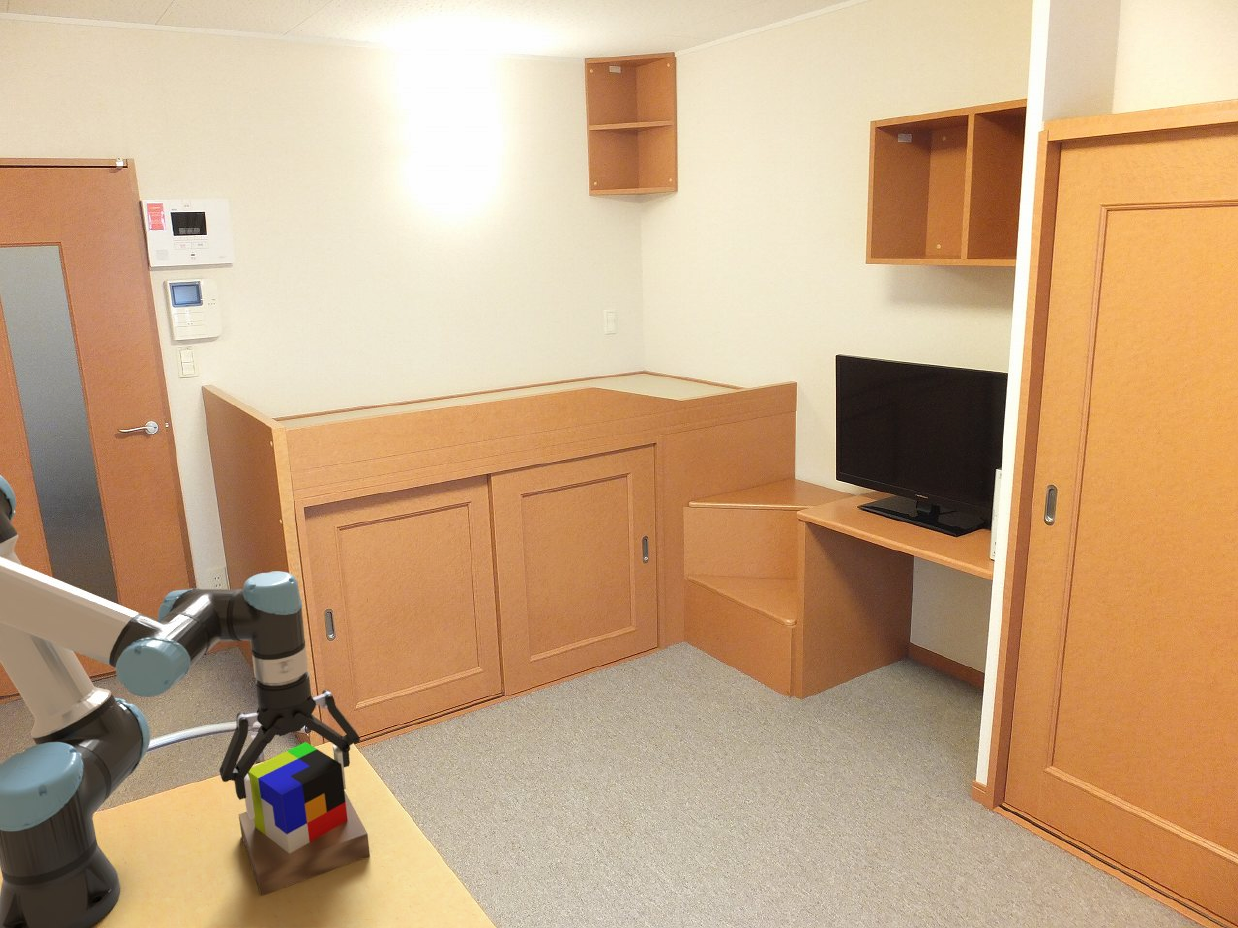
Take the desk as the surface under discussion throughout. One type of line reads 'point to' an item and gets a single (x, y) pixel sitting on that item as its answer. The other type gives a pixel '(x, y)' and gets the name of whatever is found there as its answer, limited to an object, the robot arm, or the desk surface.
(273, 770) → the puzzle toy
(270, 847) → the walnut plinth
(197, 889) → the desk surface
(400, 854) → the desk surface
